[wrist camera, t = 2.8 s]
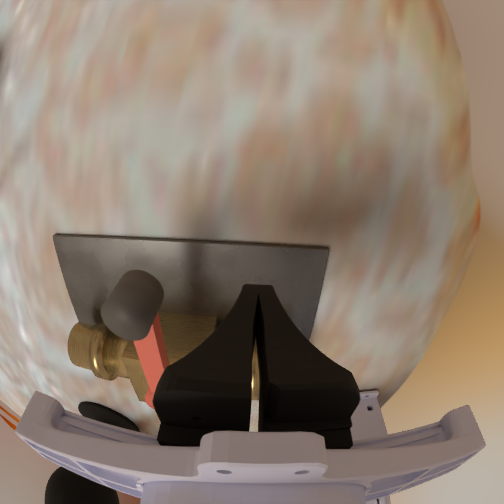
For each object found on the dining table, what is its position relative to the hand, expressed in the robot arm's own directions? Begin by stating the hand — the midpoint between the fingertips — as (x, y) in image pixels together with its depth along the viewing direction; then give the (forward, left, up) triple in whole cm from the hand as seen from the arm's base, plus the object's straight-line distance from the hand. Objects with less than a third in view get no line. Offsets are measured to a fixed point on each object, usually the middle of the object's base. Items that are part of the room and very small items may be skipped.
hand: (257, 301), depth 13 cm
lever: (+6, +5, 0) cm, 7 cm away
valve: (+6, +9, -6) cm, 12 cm away
